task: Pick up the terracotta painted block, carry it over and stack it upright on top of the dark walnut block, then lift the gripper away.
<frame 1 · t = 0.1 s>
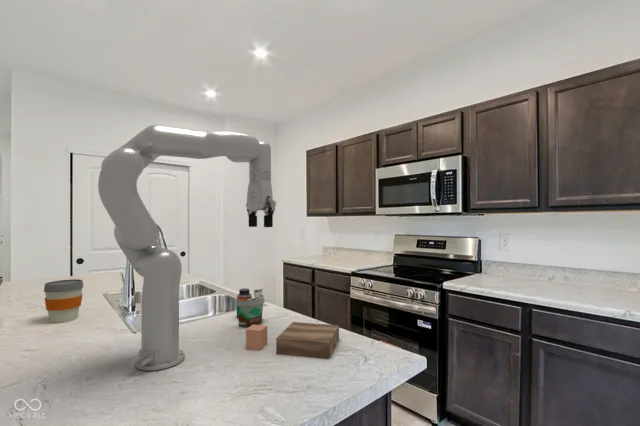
hand: (260, 226, 116), 37 cm above the countertop, tool pointing down, fingers open, 9 cm apart
reusable coffee cup: (63, 320, 132), on the countertop
terracotta block: (256, 346, 104), on the countertop
food container: (254, 325, 125), on the countertop
supplement bottle: (244, 317, 135), on the countertop
walnut block: (309, 347, 104), on the countertop
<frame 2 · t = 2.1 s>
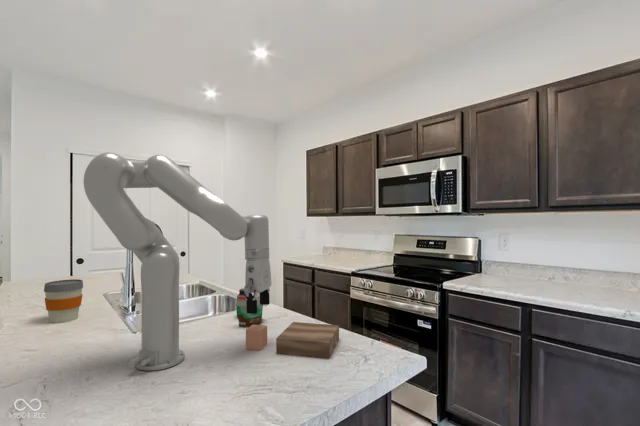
hand: (258, 308, 104), 12 cm above the countertop, tool pointing down, fingers open, 9 cm apart
nothing on the countertop moved.
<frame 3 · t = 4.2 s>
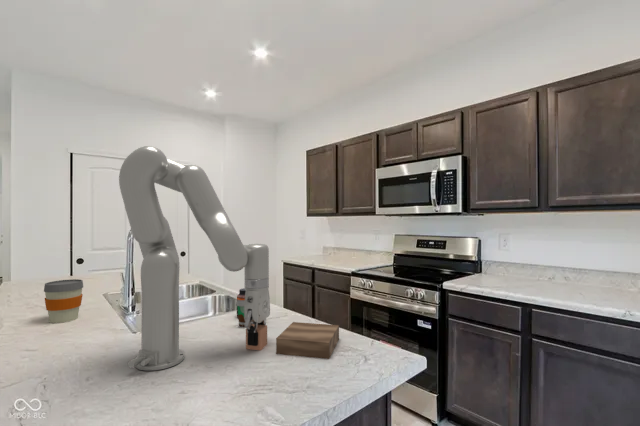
hand: (256, 341, 104), 2 cm above the countertop, tool pointing down, fingers closed on terracotta block, 5 cm apart
terracotta block: (256, 346, 104), on the countertop, touching gripper
everything else where it was.
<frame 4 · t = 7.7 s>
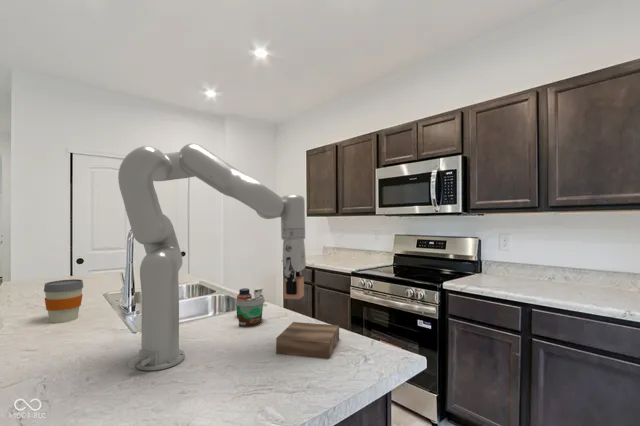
hand: (294, 291, 104), 17 cm above the countertop, tool pointing down, fingers closed on terracotta block, 5 cm apart
terracotta block: (294, 296, 104), point 15 cm above the countertop, touching gripper
everything else where it was.
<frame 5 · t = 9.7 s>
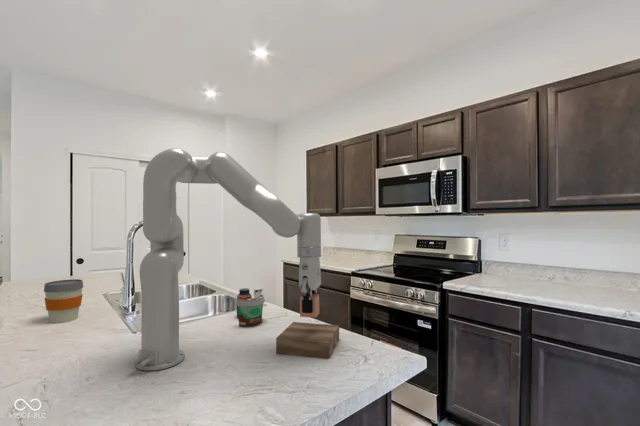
hand: (309, 309, 104), 11 cm above the countertop, tool pointing down, fingers closed on terracotta block, 5 cm apart
terracotta block: (309, 314, 104), point 10 cm above the countertop, touching gripper
everything else where it was.
when the fingers open (8 cm above the countertop, at t = 11.5 s): terracotta block drops 2 cm, point 5 cm above the countertop.
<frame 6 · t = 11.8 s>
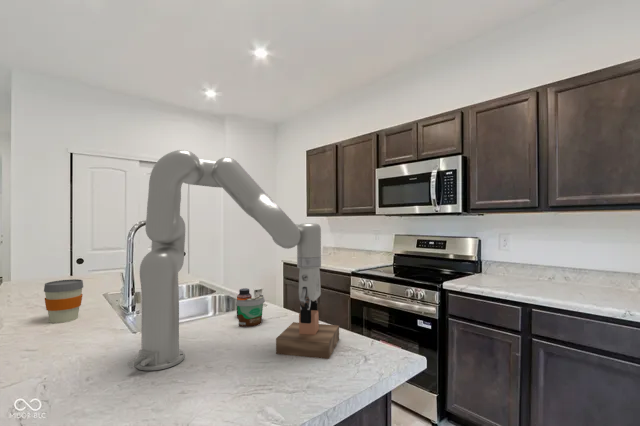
hand: (309, 318, 104), 9 cm above the countertop, tool pointing down, fingers open, 7 cm apart
terracotta block: (309, 331, 104), point 5 cm above the countertop
everything else where it was.
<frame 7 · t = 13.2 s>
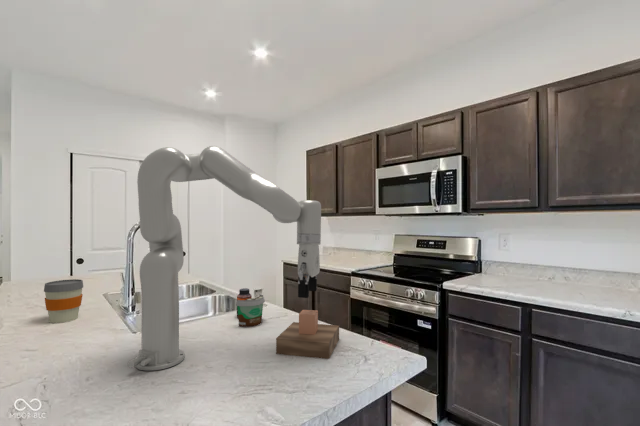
hand: (307, 294, 104), 16 cm above the countertop, tool pointing down, fingers open, 9 cm apart
terracotta block: (308, 331, 104), point 4 cm above the countertop, touching walnut block
walnut block: (309, 347, 104), on the countertop, touching terracotta block
everything else where it was.
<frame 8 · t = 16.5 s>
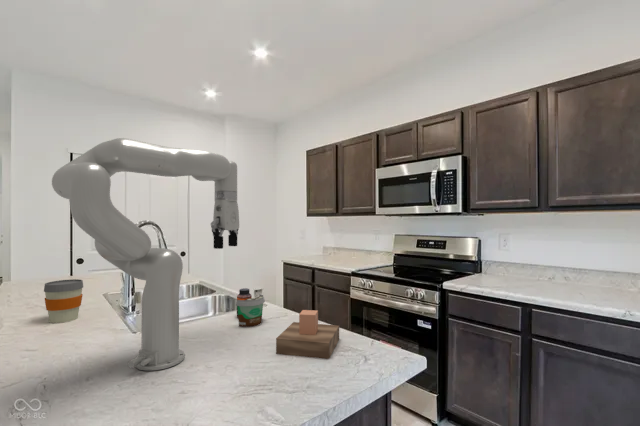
hand: (225, 247, 113), 30 cm above the countertop, tool pointing down, fingers open, 9 cm apart
terracotta block: (308, 331, 104), point 5 cm above the countertop
walnut block: (309, 347, 104), on the countertop
everything else where it was.
at the end: terracotta block inside the target area on the walnut block (0.1 cm from its centre), point 5.0 cm above the walnut block's base; terracotta block tilted 0°; the gripper is holding nothing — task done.
